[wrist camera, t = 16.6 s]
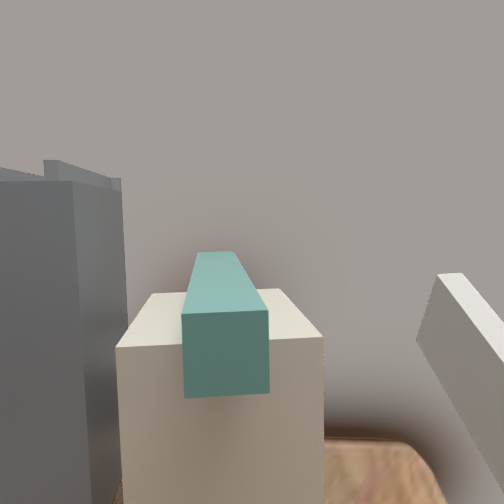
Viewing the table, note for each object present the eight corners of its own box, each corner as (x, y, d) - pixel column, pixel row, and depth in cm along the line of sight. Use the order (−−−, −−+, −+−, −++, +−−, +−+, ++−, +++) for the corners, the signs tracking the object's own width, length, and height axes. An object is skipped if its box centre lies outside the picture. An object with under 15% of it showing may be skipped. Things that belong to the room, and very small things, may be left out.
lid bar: (184, 398, 17) (181, 313, 17) (199, 287, 43) (197, 252, 42) (269, 393, 18) (268, 310, 17) (234, 286, 43) (233, 251, 43)
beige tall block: (132, 666, 26) (115, 347, 24) (161, 494, 42) (152, 293, 40) (324, 643, 27) (323, 336, 25) (282, 484, 43) (279, 288, 41)
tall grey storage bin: (-23, 567, 34) (-60, 161, 31) (57, 444, 52) (39, 179, 49) (94, 556, 35) (70, 159, 32) (133, 439, 52) (120, 178, 49)
